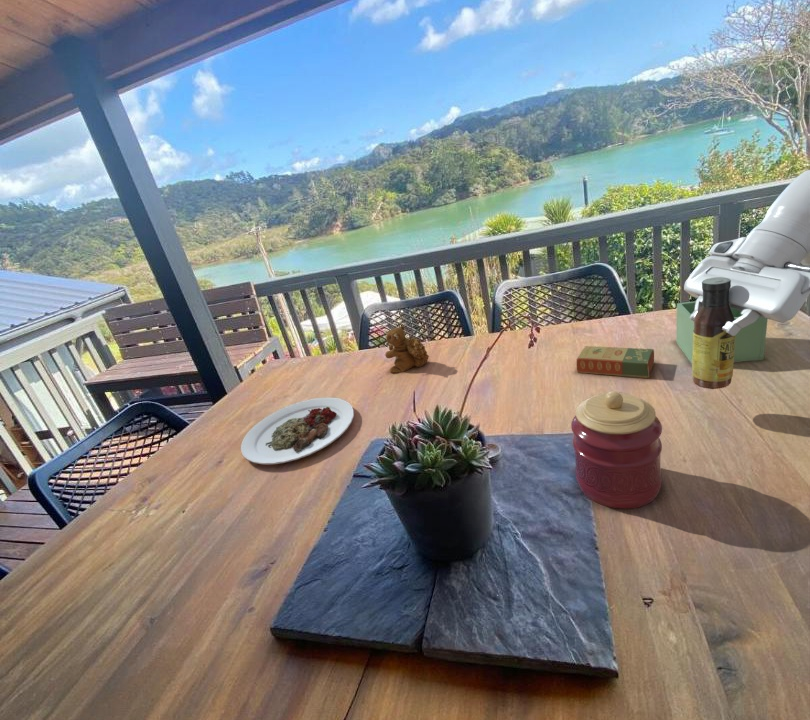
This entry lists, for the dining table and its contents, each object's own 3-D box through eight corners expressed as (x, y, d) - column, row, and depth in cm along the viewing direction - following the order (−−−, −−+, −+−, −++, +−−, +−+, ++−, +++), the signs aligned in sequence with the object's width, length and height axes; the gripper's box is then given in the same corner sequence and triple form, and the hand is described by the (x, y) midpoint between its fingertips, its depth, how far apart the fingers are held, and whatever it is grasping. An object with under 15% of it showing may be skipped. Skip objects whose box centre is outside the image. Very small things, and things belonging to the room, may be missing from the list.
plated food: (218, 465, 108) (213, 455, 107) (288, 403, 133) (284, 393, 132) (317, 473, 96) (312, 461, 95) (373, 402, 121) (370, 392, 119)
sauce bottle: (725, 393, 78) (731, 288, 70) (686, 386, 82) (687, 286, 75) (737, 377, 81) (744, 274, 74) (698, 371, 86) (701, 274, 78)
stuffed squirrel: (399, 359, 145) (389, 322, 140) (437, 358, 138) (429, 320, 133) (384, 373, 137) (374, 335, 132) (424, 373, 130) (415, 333, 125)
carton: (586, 359, 116) (585, 344, 114) (654, 363, 106) (654, 347, 104) (577, 373, 110) (575, 358, 108) (648, 379, 100) (648, 362, 99)
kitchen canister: (678, 481, 71) (681, 387, 64) (630, 524, 65) (627, 426, 59) (606, 450, 82) (602, 366, 75) (560, 484, 76) (550, 397, 69)
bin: (738, 336, 108) (741, 295, 104) (763, 360, 97) (768, 315, 93) (676, 342, 113) (676, 303, 109) (692, 365, 101) (694, 322, 97)
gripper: (839, 279, 65) (774, 354, 69) (727, 259, 84) (680, 320, 88) (816, 257, 64) (749, 336, 67) (707, 243, 83) (659, 305, 86)
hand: (709, 327), depth 77 cm, fingers closed on sauce bottle, 6 cm apart
